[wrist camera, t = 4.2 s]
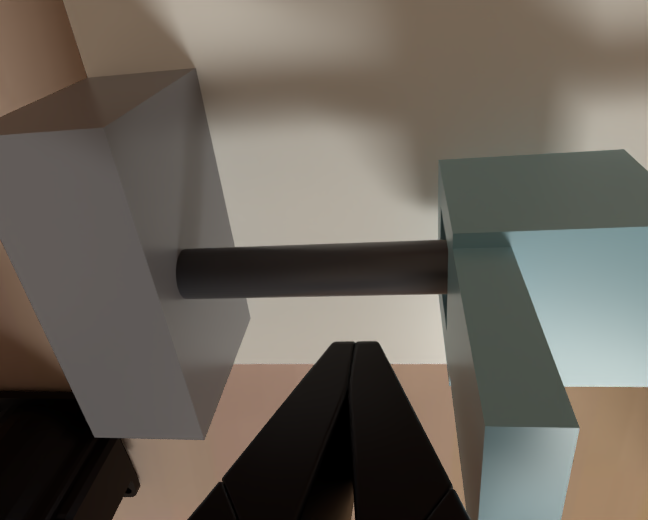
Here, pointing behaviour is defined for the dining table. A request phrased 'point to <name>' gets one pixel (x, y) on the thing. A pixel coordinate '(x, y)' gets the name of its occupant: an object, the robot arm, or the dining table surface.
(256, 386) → the dining table surface
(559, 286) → the sleeve
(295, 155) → the cable board
